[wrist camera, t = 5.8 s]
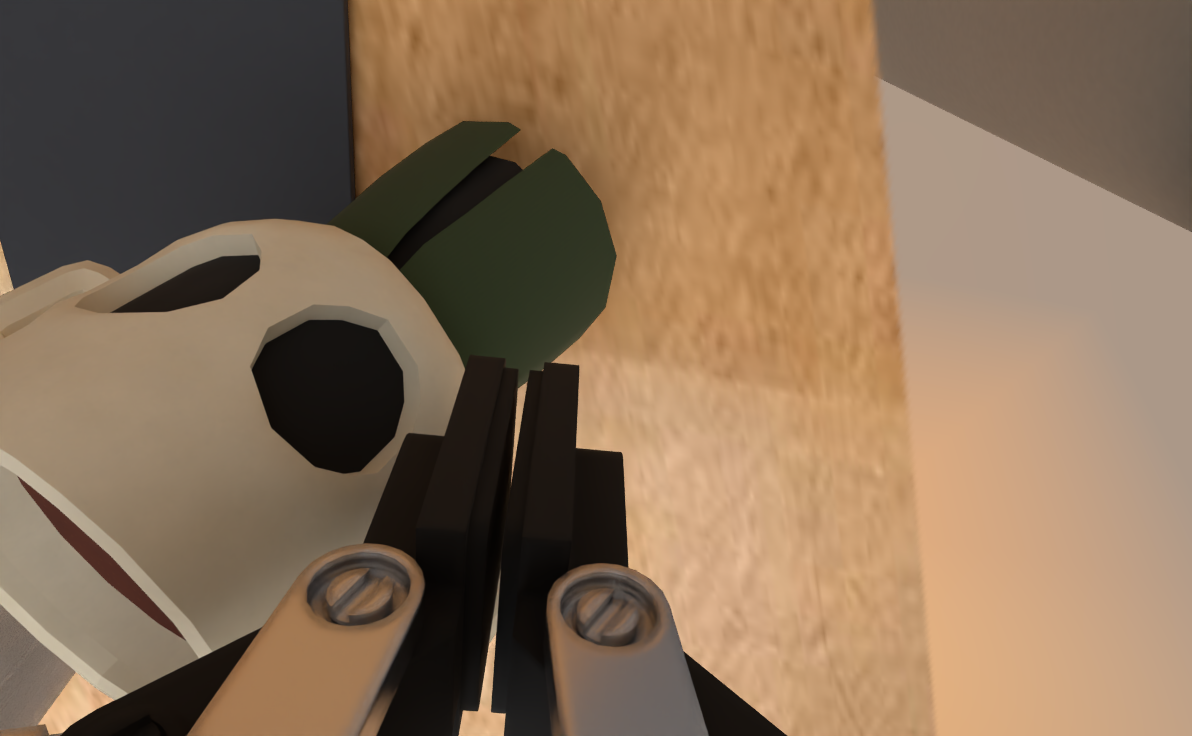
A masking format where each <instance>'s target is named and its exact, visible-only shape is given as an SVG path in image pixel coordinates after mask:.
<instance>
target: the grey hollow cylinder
mask: <svg viewBox="0 0 1192 736" xmlns="http://www.w3.org/2000/svg"><path fill="white" fill-rule="evenodd" d="M75 672H76V671H74V670H73V669H72V668H71V667H70V666H68V665H67V664H66V663H65V662H64V661H62V660H61V659H60V658H59V657H58V656H56V655H55V654H54V653H53V652H51V651H50V650H49V649H48V648H47V647H45V646H44V645H43V644H42V643H41V642H39V641H38V640H37V639H36V638H35V637H34V636H33V635H32V634H31V633H30V632H29V631H28V630H27V629H26V628H25V627H24V626H23V625H22V624H21V623H20V622H18V621H17V620H16V619H15V618H14V617H13V616H12V615H11V614H10V613H9V612H8V611H7V610H6V609H5V608H4V607H3V606H2V605H1V604H0V730H4V729H12V728H20V727H28V726H36V725H38V723H39V722H40V720H41V719H42V718H43V716H44V715H45V714H46V712H47V711H48V709H49V708H50V707H51V705H52V704H53V703H54V701H55V700H56V698H57V697H58V696H59V694H60V693H61V692H62V690H63V689H64V687H65V686H66V685H67V683H68V682H69V681H70V679H71V678H72V676H73V675H74V674H75Z"/></svg>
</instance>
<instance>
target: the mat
mask: <svg viewBox="0 0 1192 736" xmlns="http://www.w3.org/2000/svg"><path fill="white" fill-rule="evenodd" d="M354 200H355V175H354V150H353V124H352V99H351V73H350V48H349V22H348V0H0V241H1V245H2V248H3V252H4V256H5V259H6V263H7V266H8V270H9V274H10V277H11V281H12V285H13V288H14V289H16V288H18V287H20V286H22V285H24V284H26V283H28V282H31V281H33V280H35V279H37V278H39V277H41V276H43V275H45V274H47V273H49V272H52V271H54V270H56V269H58V268H60V267H62V266H65V265H70V264H74V263H78V262H82V261H86V260H89V261H92V262H95V263H98V264H101V265H104V266H107V267H110V268H112V269H113V270H115V271H116V272H118V273H119V274H122V273H124V272H125V271H127V270H129V269H131V268H133V267H135V266H137V265H139V264H140V263H142V262H144V261H145V260H147V259H148V258H150V257H151V256H153V255H155V254H156V253H158V252H159V251H161V250H162V249H164V248H165V247H167V246H169V245H170V244H172V243H173V242H175V241H176V240H179V239H181V238H184V237H187V236H190V235H192V234H195V233H198V232H201V231H204V230H206V229H209V228H212V227H215V226H218V225H220V224H224V223H228V222H235V221H249V220H264V219H284V220H296V221H304V222H311V223H317V224H324V225H326V224H327V223H328V222H329V221H331V220H332V219H333V218H334V217H335V216H336V215H338V214H339V213H340V212H341V211H342V210H343V209H344V208H346V207H347V206H348V205H349V204H350V203H351V202H352V201H354Z"/></svg>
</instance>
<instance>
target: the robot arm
mask: <svg viewBox="0 0 1192 736" xmlns="http://www.w3.org/2000/svg"><path fill="white" fill-rule="evenodd" d="M518 377H519V369H516V368H506V358H498V357H488V356H478V355H470V356H469V359H468V362H467V365H466V368H465V371H464V375H463V378H462V381H461V384H460V387H459V391H458V394H457V397H456V400H455V403H454V407H453V410H452V413H451V416H450V419H449V423H448V426H447V429H446V432H445V435H444V436H439V435H428V434H417V433H408V434H406V436H405V438H404V440H403V443H402V445H401V448H400V450H399V453H398V456H397V458H396V461H395V463H394V466H393V468H392V471H391V473H390V476H389V478H388V481H387V484H386V486H385V489H384V491H383V494H382V496H381V499H380V501H379V504H378V507H377V509H376V512H375V514H374V517H373V519H372V522H371V524H370V527H369V529H368V532H367V535H366V537H365V540H364V542H363V544H356V545H348V546H344V547H341V548H338V549H335V550H332V551H329V552H327V553H325V554H324V555H322V556H320V557H319V558H317V559H315V560H314V561H312V562H311V563H310V564H309V565H308V566H307V567H306V568H305V569H304V570H303V571H302V572H301V573H300V574H299V576H298V577H297V578H296V580H295V581H294V583H293V584H292V586H291V587H290V588H289V590H288V591H287V593H286V594H285V596H284V597H283V598H282V600H281V601H280V603H279V604H278V606H277V607H276V608H275V610H274V611H273V613H272V614H271V616H270V617H269V618H268V620H267V621H266V623H265V624H264V626H263V627H261V628H259V629H257V630H255V631H253V632H251V633H249V634H247V635H245V636H243V637H241V638H239V639H237V640H235V641H233V642H231V643H229V644H227V645H225V646H223V647H221V648H219V649H217V650H215V651H213V652H211V653H209V654H207V655H205V656H203V657H201V658H199V659H197V660H195V661H193V662H191V663H189V664H187V665H185V666H183V667H181V668H179V669H177V670H175V671H173V672H171V673H169V674H167V675H165V676H163V677H161V678H159V679H157V680H155V681H153V682H151V683H149V684H147V685H145V686H143V687H141V688H139V689H137V690H135V691H133V692H131V693H129V694H127V695H125V696H123V697H121V698H119V699H117V700H115V701H113V702H111V703H109V704H107V705H105V706H103V707H101V708H99V709H97V710H95V711H93V712H92V713H90V714H88V715H87V716H85V717H84V718H82V719H80V720H79V721H77V722H75V723H74V724H72V725H71V726H70V727H69V728H68V729H67V730H66V731H65V732H63V733H61V734H53V735H49V733H48V731H47V728H46V725H45V724H44V725H36V726H28V727H20V728H12V729H4V730H0V736H458V735H459V729H460V724H461V718H462V712H463V710H466V711H478V709H479V704H480V698H481V691H482V685H483V678H484V672H485V666H486V659H487V653H488V646H489V640H490V634H491V627H492V621H493V614H494V608H495V602H496V595H497V589H498V582H499V576H500V587H499V602H498V616H497V631H496V646H495V661H494V675H493V690H492V705H491V712H493V713H506V718H505V730H504V736H787V735H786V734H784V733H783V732H782V731H781V730H779V729H778V728H777V727H776V726H775V725H773V724H772V723H771V722H770V721H768V720H767V719H766V718H765V717H763V716H762V715H761V714H760V713H759V712H757V711H756V710H755V709H754V708H752V707H751V706H750V705H749V704H748V703H746V702H745V701H744V700H743V699H741V698H740V697H739V696H738V695H736V694H735V693H734V692H733V691H732V690H730V689H729V688H728V687H727V686H725V685H724V684H723V683H722V682H721V681H719V680H718V679H717V678H716V677H714V676H713V675H712V674H711V673H709V672H708V671H707V670H706V669H705V668H703V667H702V666H701V665H700V664H698V663H697V662H696V661H695V660H693V659H692V658H691V657H690V656H689V655H687V654H686V653H685V652H684V651H683V649H682V645H681V642H680V639H679V635H678V632H677V629H676V625H675V622H674V619H673V615H672V612H671V609H670V605H669V603H668V602H667V600H666V598H665V596H664V594H663V592H662V591H661V590H660V588H659V587H658V586H657V585H656V584H655V583H654V582H653V581H652V580H651V579H649V578H647V577H646V576H644V575H642V574H641V573H639V572H637V571H636V570H633V569H630V568H628V549H627V529H626V508H625V488H624V467H623V454H622V453H621V452H612V451H601V450H590V449H579V448H576V433H577V410H578V387H579V365H569V364H559V363H549V362H545V363H544V370H543V371H536V370H530V371H529V377H528V384H527V390H526V396H525V402H524V408H523V415H522V421H521V427H520V433H519V440H518V446H517V452H516V458H515V464H514V471H513V477H512V483H511V475H512V461H513V447H514V433H515V419H516V405H517V391H518ZM500 570H501V572H500Z"/></svg>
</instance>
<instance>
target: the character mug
mask: <svg viewBox="0 0 1192 736" xmlns="http://www.w3.org/2000/svg"><path fill="white" fill-rule="evenodd" d="M519 131H520V129H519V128H517V127H516V126H514V125H512V124H511V123H509V122H475V121H463V122H461V123H459V124H458V125H456V126H454V127H452V128H451V129H449V130H447V131H446V132H444V133H442V134H441V135H439V136H437V137H435V138H434V139H432V140H430V141H429V142H427V143H425V144H424V145H423V146H421V147H420V148H419V149H417V150H416V151H415V152H413V153H412V154H411V155H409V156H408V157H406V158H405V159H404V160H402V161H401V162H400V163H398V164H397V165H396V166H394V167H393V168H392V169H390V170H389V171H387V172H386V173H385V174H383V175H382V176H381V177H380V178H378V179H377V180H376V181H375V182H374V183H373V184H372V185H370V186H369V187H368V188H367V189H366V190H365V191H364V192H363V193H361V194H360V195H359V196H358V197H357V198H356V199H355V200H354V201H352V202H351V203H350V204H349V205H348V206H347V207H346V208H344V209H343V210H342V211H341V212H340V213H339V214H338V215H336V216H335V217H334V218H333V219H332V220H331V221H329V222H328V223H327V224H326V225H324V224H317V223H311V222H304V221H296V220H284V219H264V220H249V221H235V222H228V223H224V224H220V225H218V226H215V227H212V228H209V229H206V230H204V231H201V232H198V233H195V234H192V235H190V236H187V237H184V238H181V239H179V240H176V241H175V242H173V243H172V244H170V245H169V246H167V247H165V248H164V249H162V250H161V251H159V252H158V253H156V254H155V255H153V256H151V257H150V258H148V259H147V260H145V261H144V262H142V263H140V264H139V265H137V266H135V267H133V268H131V269H129V270H127V271H125V272H124V273H122V274H119V273H118V272H116V271H115V270H113V269H112V268H110V267H107V266H104V265H101V264H98V263H95V262H92V261H89V260H86V261H82V262H78V263H74V264H70V265H65V266H62V267H60V268H58V269H56V270H54V271H52V272H49V273H47V274H45V275H43V276H41V277H39V278H37V279H35V280H33V281H31V282H28V283H26V284H24V285H22V286H20V287H18V288H16V289H14V290H12V291H10V292H7V293H5V294H3V295H1V296H0V604H1V605H2V606H3V607H4V608H5V609H6V610H7V611H8V612H9V613H10V614H11V615H12V616H13V617H14V618H15V619H16V620H17V621H18V622H20V623H21V624H22V625H23V626H24V627H25V628H26V629H27V630H28V631H29V632H30V633H31V634H32V635H33V636H34V637H35V638H36V639H37V640H38V641H39V642H41V643H42V644H43V645H44V646H45V647H47V648H48V649H49V650H50V651H51V652H53V653H54V654H55V655H56V656H58V657H59V658H60V659H61V660H62V661H64V662H65V663H66V664H67V665H68V666H70V667H71V668H72V669H73V670H74V671H76V672H77V673H78V674H79V675H81V676H82V677H83V678H84V679H85V680H87V681H88V682H89V683H90V684H91V685H93V686H94V687H95V688H96V689H98V690H100V691H101V692H103V693H104V694H106V695H107V696H109V697H110V698H112V699H113V700H117V699H119V698H121V697H123V696H125V695H127V694H129V693H131V692H133V691H135V690H137V689H139V688H141V687H143V686H145V685H147V684H149V683H151V682H153V681H155V680H157V679H159V678H161V677H163V676H165V675H167V674H169V673H171V672H173V671H175V670H177V669H179V668H181V667H183V666H185V665H187V664H189V663H191V662H193V661H195V660H197V659H199V658H201V657H203V656H205V655H207V654H209V653H211V652H213V651H215V650H217V649H219V648H221V647H223V646H225V645H227V644H229V643H231V642H233V641H235V640H237V639H239V638H241V637H243V636H245V635H247V634H249V633H251V632H253V631H255V630H257V629H259V628H261V627H263V626H264V624H265V623H266V621H267V620H268V618H269V617H270V616H271V614H272V613H273V611H274V610H275V608H276V607H277V606H278V604H279V603H280V601H281V600H282V598H283V597H284V596H285V594H286V593H287V591H288V590H289V588H290V587H291V586H292V584H293V583H294V581H295V580H296V578H297V577H298V576H299V574H300V573H301V572H302V571H303V570H304V569H305V568H306V567H307V566H308V565H309V564H310V563H311V562H312V561H314V560H315V559H317V558H319V557H320V556H322V555H324V554H325V553H327V552H329V551H332V550H335V549H338V548H341V547H344V546H348V545H356V544H363V542H364V540H365V537H366V535H367V532H368V529H369V527H370V524H371V522H372V519H373V517H374V514H375V512H376V509H377V507H378V504H379V501H380V499H381V496H382V494H383V491H384V489H385V486H386V484H387V481H388V478H389V476H390V473H391V471H392V468H393V466H394V463H395V461H396V458H397V456H398V453H399V450H400V448H401V445H402V443H403V440H404V438H405V436H406V434H408V433H417V434H428V435H439V436H444V435H445V432H446V429H447V426H448V423H449V419H450V416H451V413H452V410H453V407H454V403H455V400H456V397H457V394H458V391H459V387H460V384H461V381H462V378H463V375H464V371H465V368H466V365H467V362H468V359H469V356H470V355H478V356H488V357H498V358H506V368H516V369H519V377H518V388H519V387H521V386H522V385H523V384H525V383H526V382H527V381H528V377H529V371H530V370H536V371H542V370H543V369H544V363H545V362H549V363H551V362H552V361H554V360H555V359H556V358H557V357H558V356H559V355H561V354H562V353H563V352H564V351H565V350H566V349H568V348H569V347H570V346H571V345H572V344H573V343H574V342H576V341H577V340H578V339H579V338H580V337H581V336H582V335H583V333H584V332H585V331H586V330H587V329H588V327H589V326H590V325H591V324H592V323H593V322H594V320H595V319H596V318H597V317H598V316H599V314H600V313H601V312H602V311H603V310H604V309H605V307H606V303H607V298H608V293H609V289H610V284H611V279H612V275H613V270H614V266H615V261H616V256H617V255H616V252H615V248H614V245H613V242H612V238H611V235H610V231H609V228H608V224H607V221H606V217H605V214H604V210H603V207H602V204H601V201H600V199H599V198H598V197H597V195H596V194H595V193H594V191H593V190H592V189H591V188H590V186H589V185H588V184H587V182H586V181H585V180H584V178H583V177H582V176H581V174H580V173H579V172H578V170H577V169H576V168H575V166H574V165H573V164H572V163H571V161H570V160H569V159H568V157H567V156H566V155H565V154H563V153H561V152H559V151H557V150H555V149H553V148H552V149H551V150H550V151H548V152H547V153H546V154H544V155H543V156H541V157H540V158H539V159H537V160H536V161H535V162H533V163H532V164H531V165H529V166H528V167H526V168H525V169H524V170H523V169H521V168H520V167H519V166H518V165H517V164H516V163H515V162H512V161H508V160H504V159H500V158H496V157H492V156H490V155H491V154H492V153H494V152H495V151H496V150H497V149H498V148H500V147H501V146H502V145H503V144H504V143H506V142H507V141H508V140H509V139H511V138H512V137H513V136H514V135H515V134H517V133H518V132H519ZM500 572H501V570H500ZM499 587H500V576H499V582H498V589H497V595H496V602H495V608H494V614H493V621H492V627H491V634H490V640H489V643H490V642H491V640H492V639H493V637H494V636H495V634H496V631H497V616H498V602H499Z"/></svg>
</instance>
